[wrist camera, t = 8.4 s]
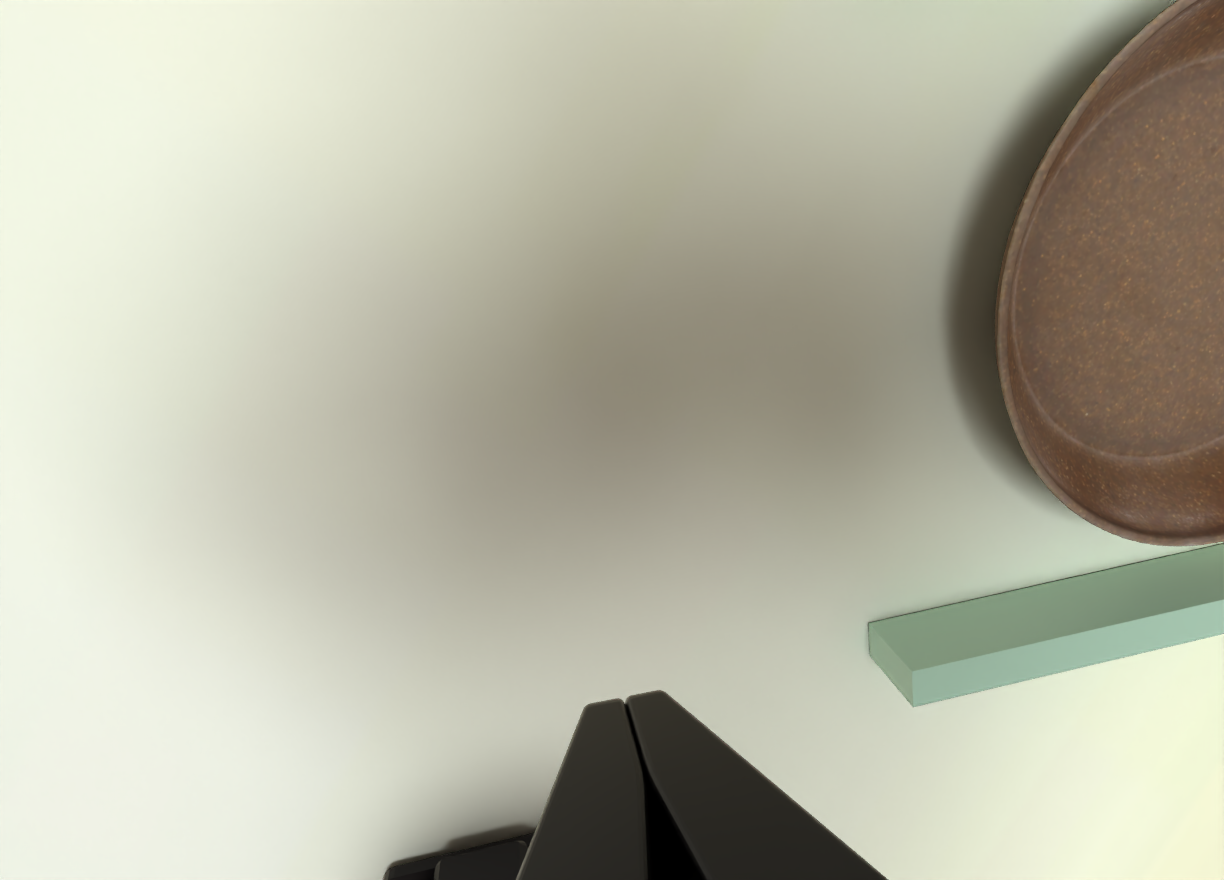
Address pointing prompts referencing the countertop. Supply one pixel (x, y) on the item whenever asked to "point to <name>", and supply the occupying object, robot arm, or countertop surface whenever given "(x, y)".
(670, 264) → the countertop surface
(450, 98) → the countertop surface
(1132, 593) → the tray
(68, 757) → the countertop surface
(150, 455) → the countertop surface
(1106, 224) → the saucer
